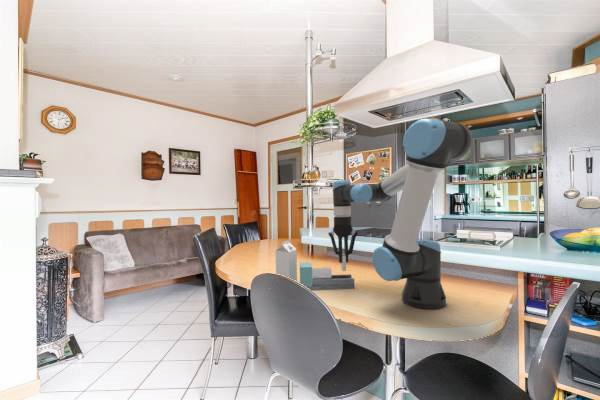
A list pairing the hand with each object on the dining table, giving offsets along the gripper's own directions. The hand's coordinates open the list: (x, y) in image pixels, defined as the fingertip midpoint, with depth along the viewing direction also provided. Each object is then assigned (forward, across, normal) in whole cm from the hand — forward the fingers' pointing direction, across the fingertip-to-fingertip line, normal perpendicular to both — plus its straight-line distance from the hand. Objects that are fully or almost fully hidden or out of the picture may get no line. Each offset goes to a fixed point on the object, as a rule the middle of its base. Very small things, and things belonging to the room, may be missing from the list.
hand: (343, 270), depth 130 cm
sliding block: (+5, +12, 0) cm, 13 cm away
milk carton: (+7, +25, -7) cm, 27 cm away
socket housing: (+5, +17, 0) cm, 18 cm away
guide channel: (+7, +8, 0) cm, 10 cm away
